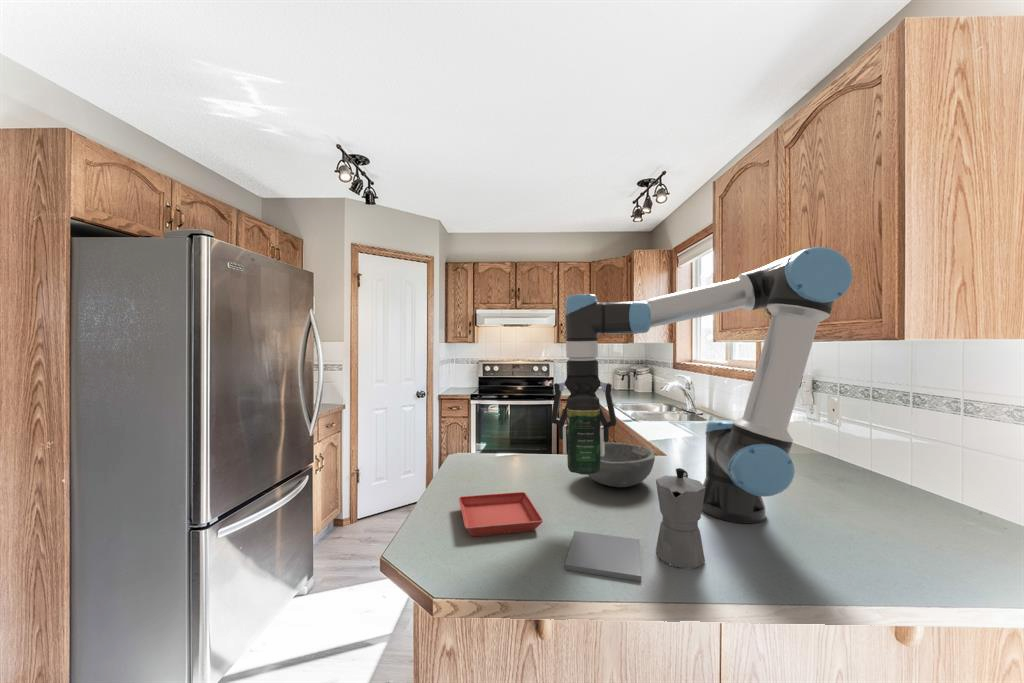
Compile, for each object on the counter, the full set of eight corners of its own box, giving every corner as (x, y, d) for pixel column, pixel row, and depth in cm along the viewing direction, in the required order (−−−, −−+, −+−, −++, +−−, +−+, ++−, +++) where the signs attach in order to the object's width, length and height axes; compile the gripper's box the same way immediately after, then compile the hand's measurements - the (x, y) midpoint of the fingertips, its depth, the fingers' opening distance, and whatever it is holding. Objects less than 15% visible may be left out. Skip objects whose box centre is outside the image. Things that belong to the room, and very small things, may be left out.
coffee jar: (603, 476, 92) (601, 395, 92) (567, 475, 93) (566, 395, 93) (599, 463, 102) (597, 389, 102) (567, 462, 103) (565, 389, 103)
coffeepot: (703, 580, 74) (703, 482, 74) (649, 566, 79) (649, 474, 79) (707, 543, 88) (708, 460, 88) (662, 533, 92) (662, 454, 92)
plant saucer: (525, 502, 110) (525, 490, 110) (544, 534, 93) (544, 520, 93) (458, 509, 106) (458, 496, 106) (465, 543, 89) (465, 528, 89)
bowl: (584, 467, 139) (584, 438, 139) (653, 474, 132) (653, 443, 132) (573, 491, 117) (573, 457, 117) (655, 501, 110) (655, 464, 110)
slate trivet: (639, 543, 87) (639, 539, 87) (641, 581, 74) (641, 576, 74) (574, 535, 91) (574, 530, 91) (564, 569, 78) (564, 564, 78)
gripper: (627, 358, 98) (629, 451, 98) (542, 358, 104) (544, 447, 104) (627, 359, 91) (629, 461, 91) (536, 360, 97) (538, 455, 97)
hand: (583, 453), depth 98 cm, fingers closed on coffee jar, 8 cm apart
